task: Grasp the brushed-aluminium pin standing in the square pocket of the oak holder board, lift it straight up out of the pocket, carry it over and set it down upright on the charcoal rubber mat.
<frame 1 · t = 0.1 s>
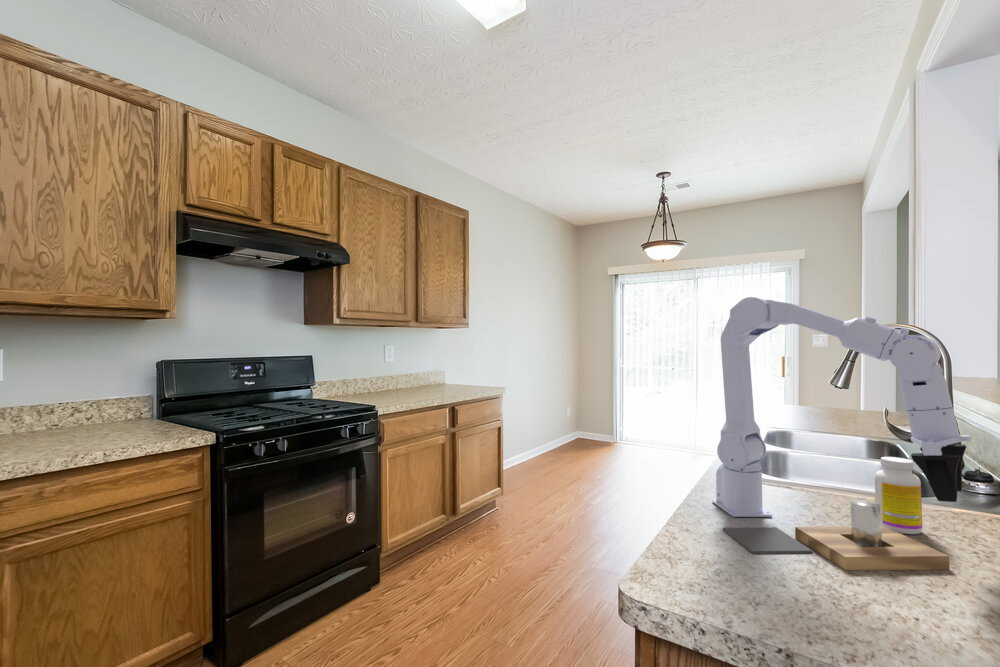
hand: (950, 495, 74), 11 cm above the countertop, tool pointing down, fingers open, 7 cm apart
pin: (865, 528, 78), in the holder
mat: (765, 540, 83), on the countertop
holder: (866, 552, 78), on the countertop
supplement bottle: (898, 529, 88), on the countertop
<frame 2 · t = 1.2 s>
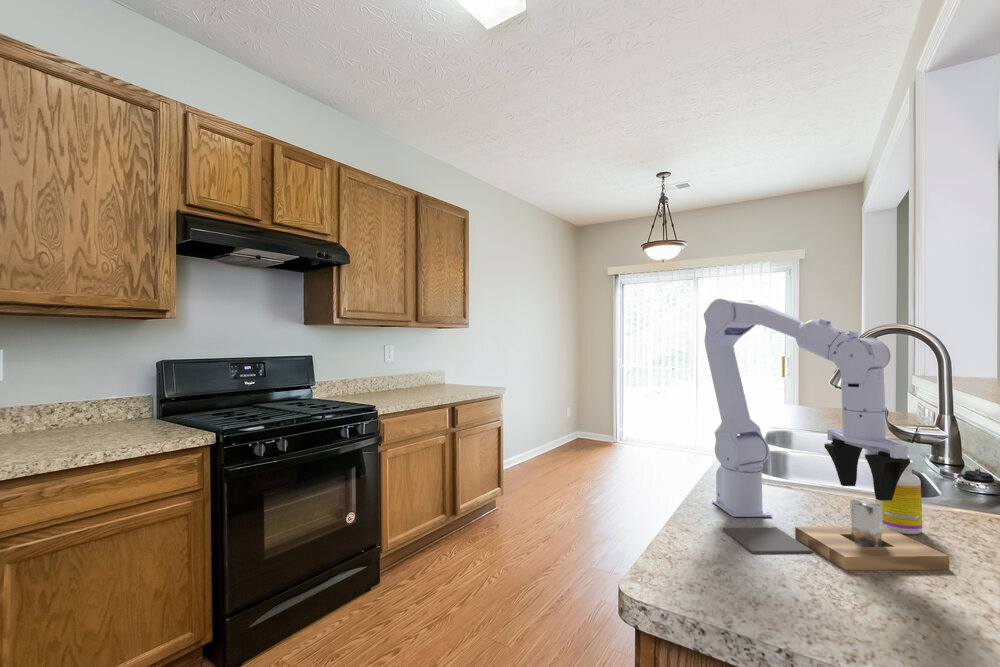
hand: (865, 492, 78), 10 cm above the countertop, tool pointing down, fingers open, 7 cm apart
nothing on the countertop moved.
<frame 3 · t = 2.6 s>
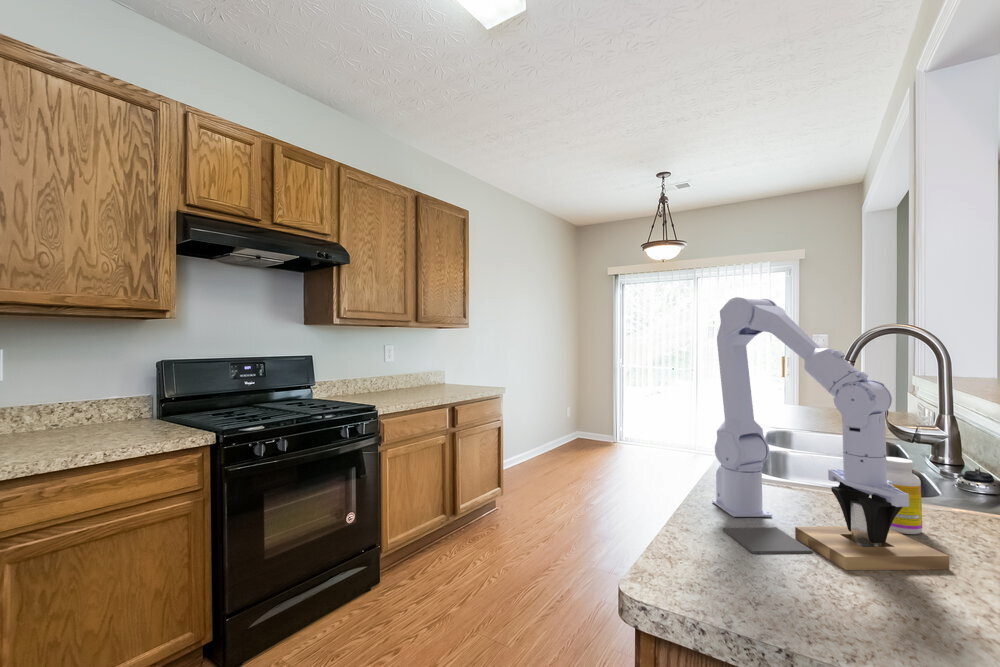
hand: (866, 536, 78), 3 cm above the countertop, tool pointing down, fingers closed on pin, 4 cm apart
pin: (866, 528, 78), in the holder, touching gripper
everything else where it was.
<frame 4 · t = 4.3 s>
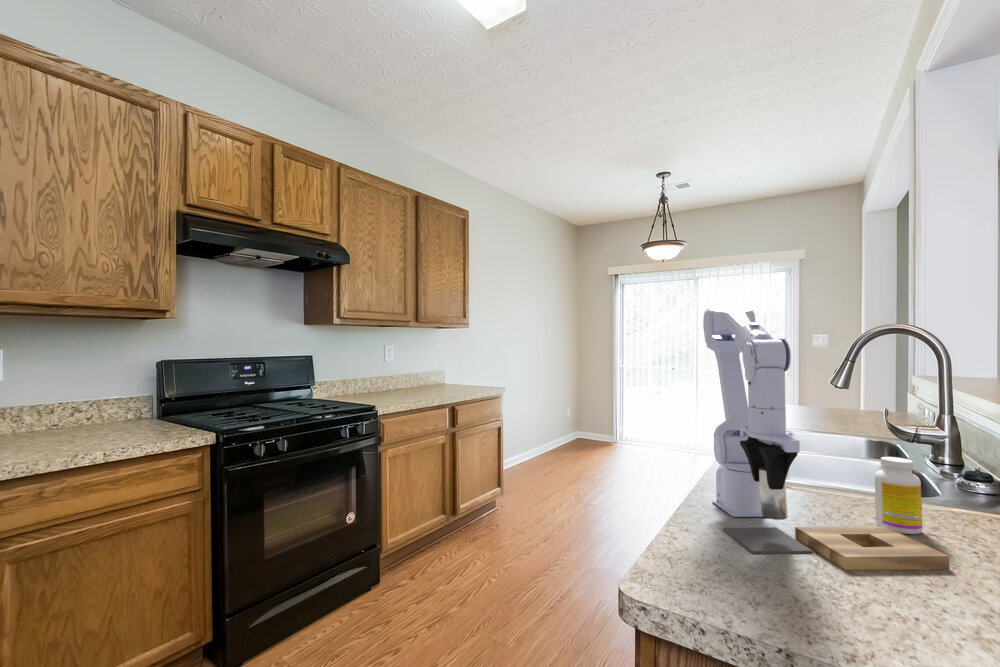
hand: (768, 484, 83), 10 cm above the countertop, tool pointing down, fingers closed on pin, 4 cm apart
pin: (772, 492, 83), point 8 cm above the countertop, touching gripper
everything else where it was.
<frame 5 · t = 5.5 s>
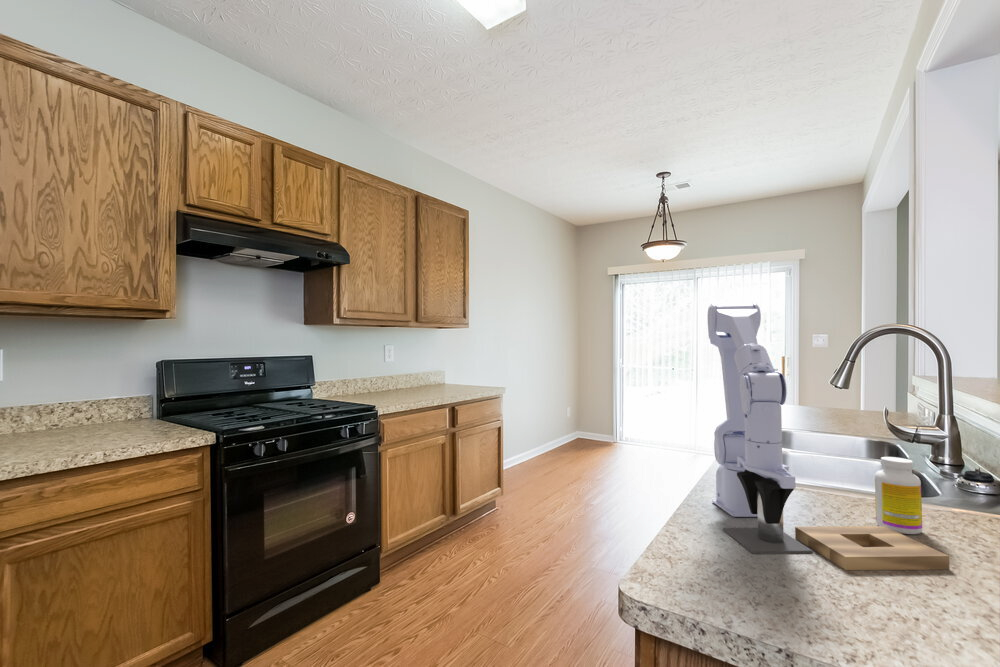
hand: (764, 518, 83), 4 cm above the countertop, tool pointing down, fingers closed on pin, 4 cm apart
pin: (770, 515, 83), on the mat, touching gripper
everything else where it was.
when the fingers open (4 cm above the countertop, at t = 5.9 s): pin stays where it is, resting on mat.
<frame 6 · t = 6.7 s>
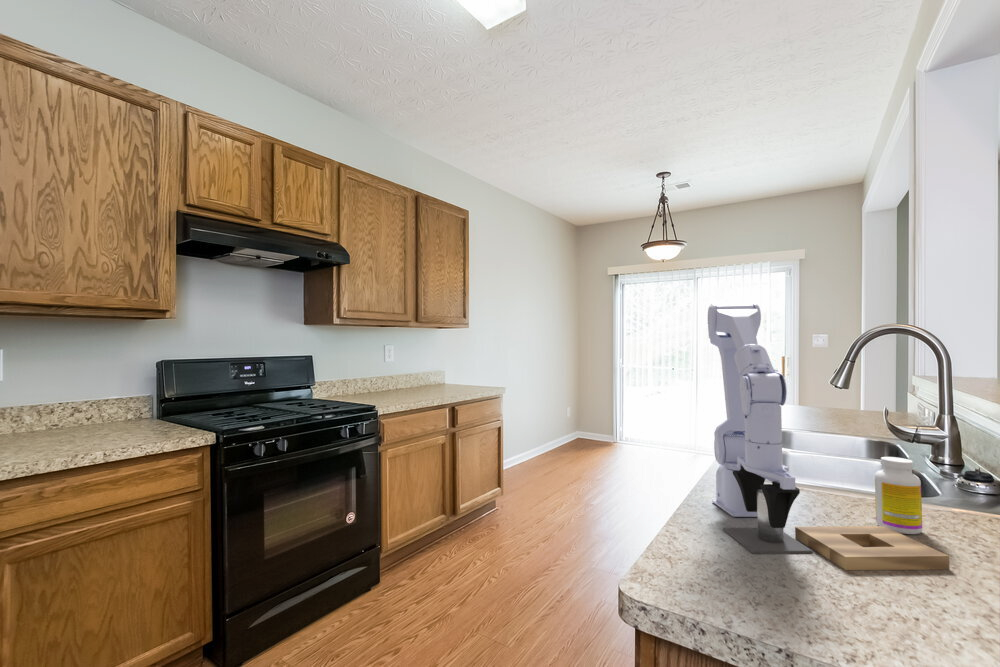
hand: (764, 518, 83), 4 cm above the countertop, tool pointing down, fingers open, 7 cm apart
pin: (770, 515, 83), on the mat
everything else where it was.
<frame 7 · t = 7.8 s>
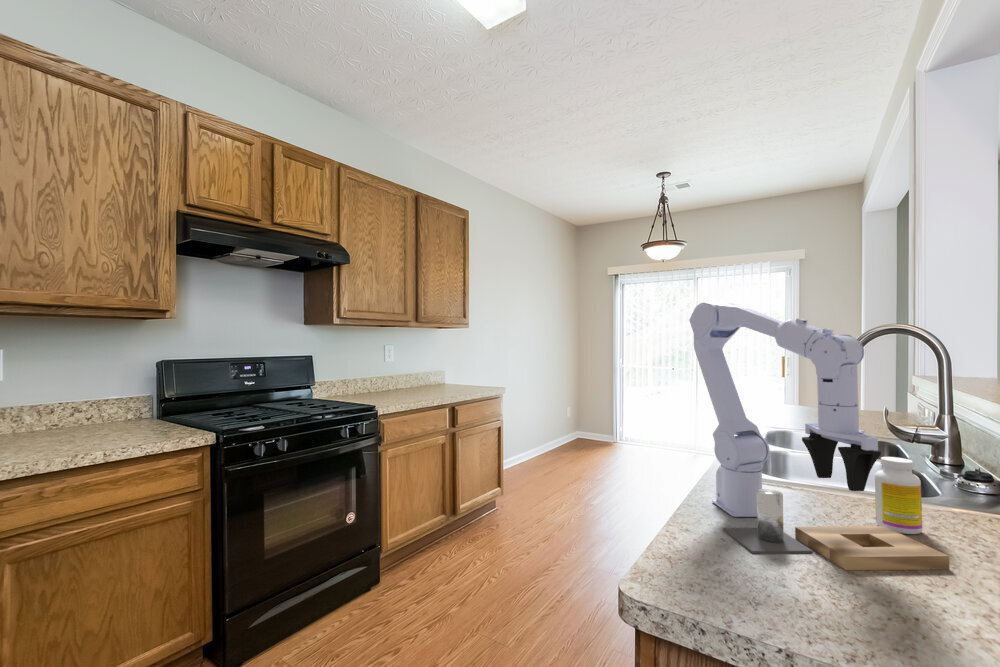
hand: (839, 483, 81), 10 cm above the countertop, tool pointing down, fingers open, 7 cm apart
nothing on the countertop moved.
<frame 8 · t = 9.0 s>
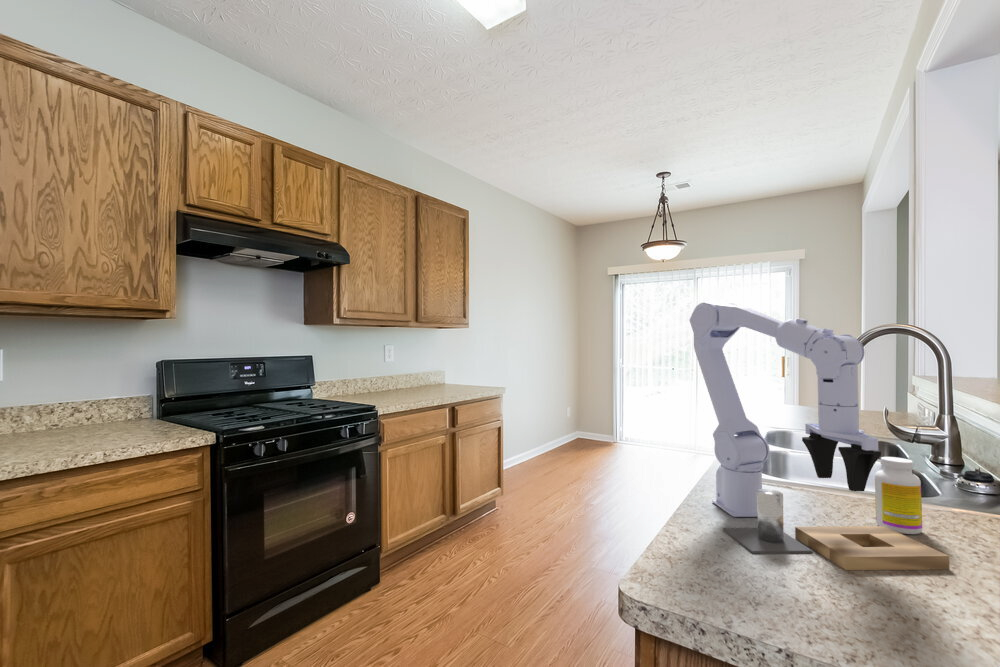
hand: (839, 483, 81), 10 cm above the countertop, tool pointing down, fingers open, 7 cm apart
nothing on the countertop moved.
at the end: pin inside the target area on the mat (0.9 cm from its centre), point 4.4 cm above the mat's base; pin tilted 1°; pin touching mat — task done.
